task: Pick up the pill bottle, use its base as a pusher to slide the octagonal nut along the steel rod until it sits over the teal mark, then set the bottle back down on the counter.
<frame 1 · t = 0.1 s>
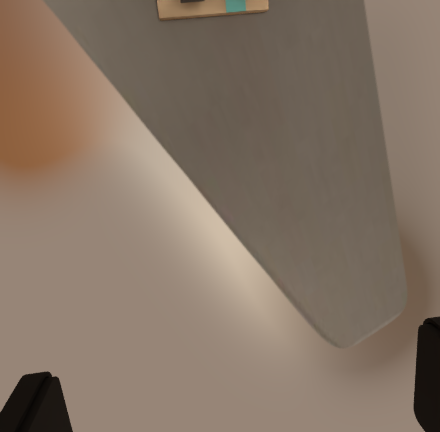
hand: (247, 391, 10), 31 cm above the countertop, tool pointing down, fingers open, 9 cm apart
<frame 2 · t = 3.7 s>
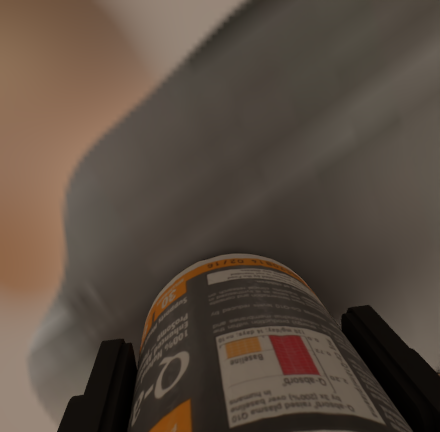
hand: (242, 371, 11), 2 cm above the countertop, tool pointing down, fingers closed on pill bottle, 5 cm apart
pill bottle: (232, 325, 13), on the countertop, touching gripper
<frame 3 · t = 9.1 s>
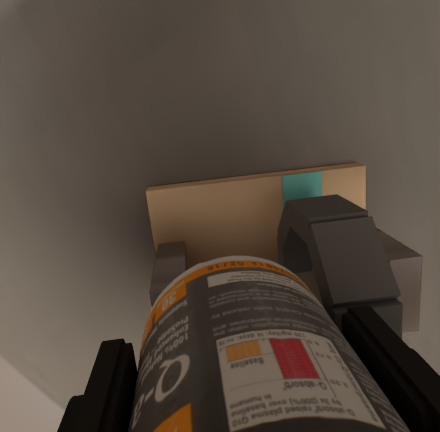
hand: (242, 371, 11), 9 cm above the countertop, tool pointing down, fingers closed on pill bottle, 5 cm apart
pill bottle: (232, 327, 13), point 6 cm above the countertop, touching gripper, octagonal nut
rail: (259, 253, 19), on the countertop
octagonal nut: (326, 293, 15), point 5 cm above the countertop, slide at 3.7 cm, touching pill bottle
when the fingers open (3 cm above the countertop, at t = 14.4 s): pill bottle drops 1 cm, on the countertop.
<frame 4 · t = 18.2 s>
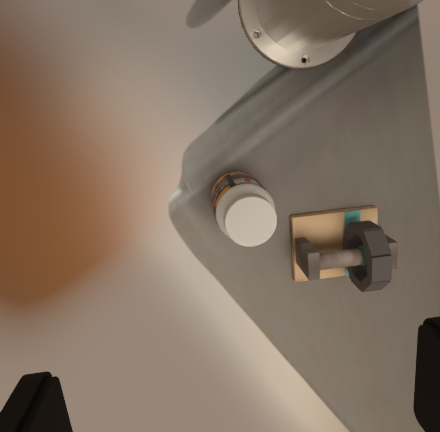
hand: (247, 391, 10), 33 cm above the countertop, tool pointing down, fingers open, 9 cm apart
pill bottle: (235, 195, 43), on the countertop
rail: (332, 242, 45), on the countertop
octagonal nut: (365, 255, 41), point 5 cm above the countertop, slide at 3.8 cm
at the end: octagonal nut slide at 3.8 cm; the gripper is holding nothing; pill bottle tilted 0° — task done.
